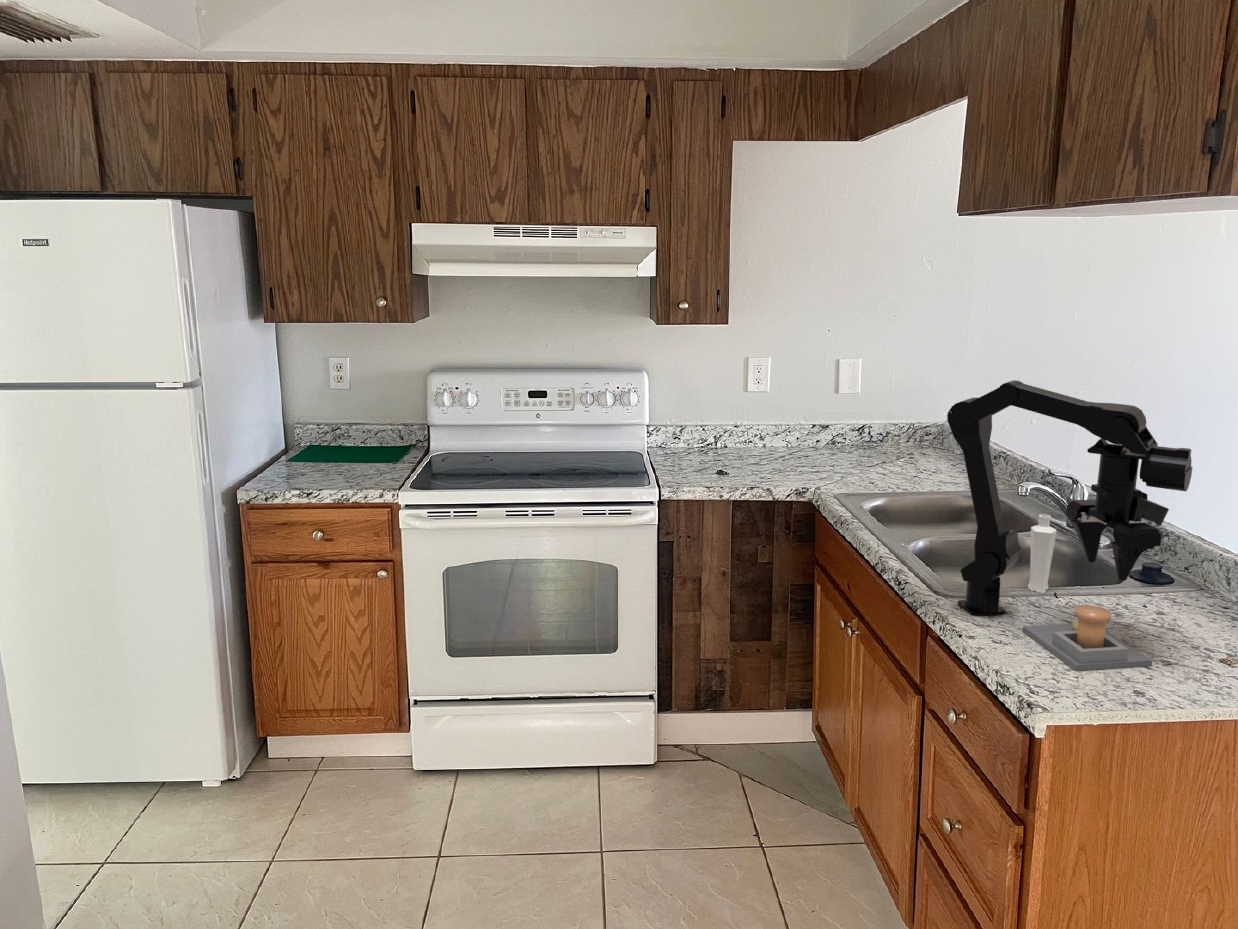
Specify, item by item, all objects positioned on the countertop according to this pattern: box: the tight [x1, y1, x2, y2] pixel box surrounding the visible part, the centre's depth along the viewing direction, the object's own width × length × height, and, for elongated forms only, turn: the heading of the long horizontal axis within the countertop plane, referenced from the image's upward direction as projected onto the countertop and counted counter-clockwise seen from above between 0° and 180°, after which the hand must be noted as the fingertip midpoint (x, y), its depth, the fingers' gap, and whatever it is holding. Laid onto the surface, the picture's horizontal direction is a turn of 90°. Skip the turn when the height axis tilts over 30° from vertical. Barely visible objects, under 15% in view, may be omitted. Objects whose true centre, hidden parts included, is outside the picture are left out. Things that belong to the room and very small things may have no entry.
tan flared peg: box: [1074, 604, 1112, 649], centre depth 156 cm, size 5×5×7 cm
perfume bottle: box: [1027, 513, 1057, 594], centre depth 186 cm, size 5×4×15 cm
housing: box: [1022, 618, 1153, 672], centre depth 160 cm, size 16×13×4 cm
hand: (1106, 570), depth 162 cm, fingers open, 9 cm apart
